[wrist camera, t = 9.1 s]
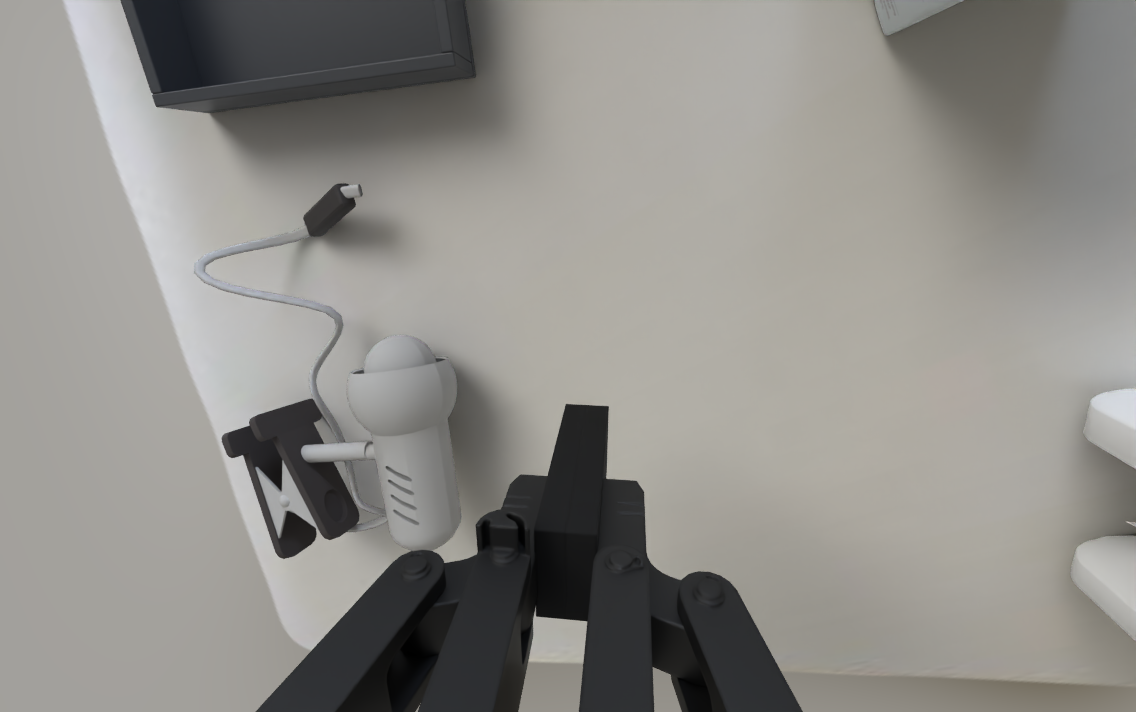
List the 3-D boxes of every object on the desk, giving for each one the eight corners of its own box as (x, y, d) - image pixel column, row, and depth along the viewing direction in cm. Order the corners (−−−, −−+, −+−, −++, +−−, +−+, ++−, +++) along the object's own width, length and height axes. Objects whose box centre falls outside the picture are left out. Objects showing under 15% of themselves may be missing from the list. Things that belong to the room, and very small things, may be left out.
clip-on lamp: (254, 223, 29) (312, 529, 31) (138, 208, 23) (219, 590, 25) (446, 186, 26) (496, 527, 28) (370, 158, 20) (441, 595, 22)
